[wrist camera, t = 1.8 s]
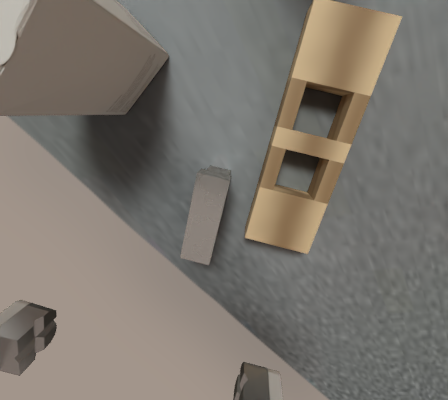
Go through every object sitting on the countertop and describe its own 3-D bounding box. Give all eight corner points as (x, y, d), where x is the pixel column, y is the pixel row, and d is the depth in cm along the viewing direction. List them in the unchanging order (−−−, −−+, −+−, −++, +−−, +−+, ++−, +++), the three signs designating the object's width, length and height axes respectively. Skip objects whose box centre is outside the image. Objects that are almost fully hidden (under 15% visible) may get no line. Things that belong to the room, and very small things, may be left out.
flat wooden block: (245, 226, 29) (244, 237, 26) (306, 13, 22) (315, -4, 19) (302, 241, 29) (307, 253, 26) (382, 30, 22) (402, 16, 19)
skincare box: (124, 6, 23) (-94, -196, 9) (174, 59, 24) (56, -39, 10) (78, 75, 26) (-153, 11, 11) (126, 121, 27) (-29, 119, 12)
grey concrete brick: (193, 232, 30) (180, 257, 24) (208, 162, 27) (197, 172, 21) (216, 238, 30) (208, 265, 24) (234, 168, 27) (229, 180, 21)
